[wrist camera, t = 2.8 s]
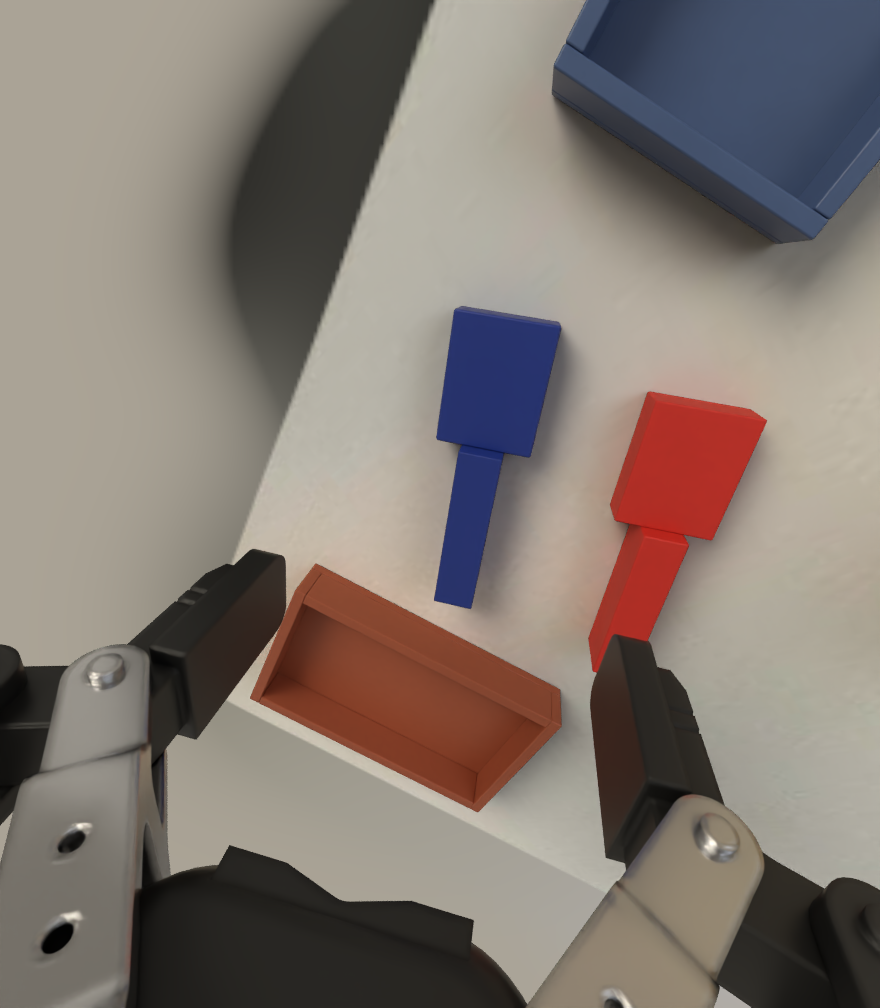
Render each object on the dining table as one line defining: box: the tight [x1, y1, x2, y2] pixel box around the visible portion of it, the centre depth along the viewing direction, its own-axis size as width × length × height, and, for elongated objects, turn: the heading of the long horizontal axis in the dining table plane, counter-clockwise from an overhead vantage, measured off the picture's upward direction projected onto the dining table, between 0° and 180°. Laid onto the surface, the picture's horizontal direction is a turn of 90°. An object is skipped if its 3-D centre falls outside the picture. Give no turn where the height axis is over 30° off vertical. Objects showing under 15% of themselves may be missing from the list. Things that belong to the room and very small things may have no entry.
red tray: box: [250, 564, 562, 812], centre depth 28 cm, size 15×9×2 cm, turn 64°
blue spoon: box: [434, 306, 561, 609], centre depth 21 cm, size 13×4×2 cm, turn 172°
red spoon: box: [588, 392, 767, 673], centre depth 21 cm, size 13×4×2 cm, turn 172°
